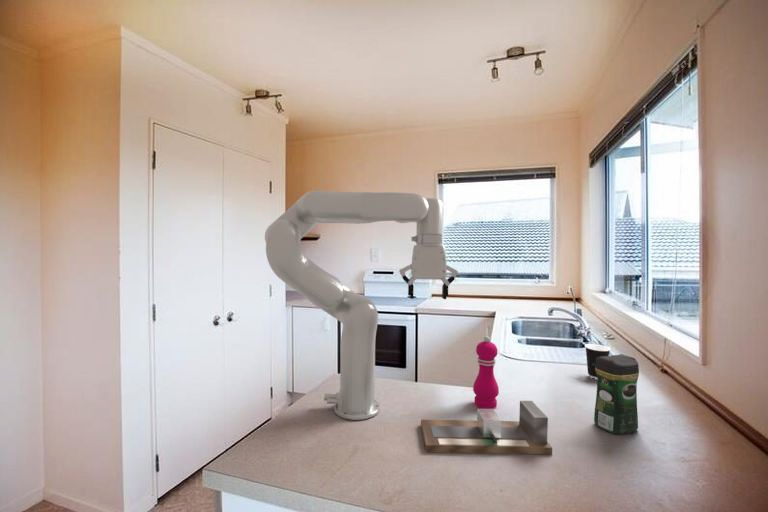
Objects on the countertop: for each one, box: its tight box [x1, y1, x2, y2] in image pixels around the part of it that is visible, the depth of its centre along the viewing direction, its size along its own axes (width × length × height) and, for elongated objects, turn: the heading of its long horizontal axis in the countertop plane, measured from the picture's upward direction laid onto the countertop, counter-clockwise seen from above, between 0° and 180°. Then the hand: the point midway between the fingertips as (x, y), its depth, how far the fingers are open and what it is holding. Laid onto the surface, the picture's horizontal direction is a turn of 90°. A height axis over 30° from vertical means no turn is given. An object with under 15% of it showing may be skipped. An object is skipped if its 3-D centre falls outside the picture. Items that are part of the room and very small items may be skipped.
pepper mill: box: [472, 335, 500, 409], centre depth 106 cm, size 7×7×20 cm
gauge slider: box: [476, 408, 502, 443], centre depth 85 cm, size 4×9×4 cm, turn 0°
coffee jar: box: [593, 353, 640, 435], centre depth 93 cm, size 10×8×19 cm
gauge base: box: [420, 400, 553, 455], centre depth 87 cm, size 28×12×8 cm, turn 90°
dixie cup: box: [584, 343, 611, 379], centre depth 129 cm, size 8×8×11 cm
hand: (427, 298), depth 108 cm, fingers open, 9 cm apart
